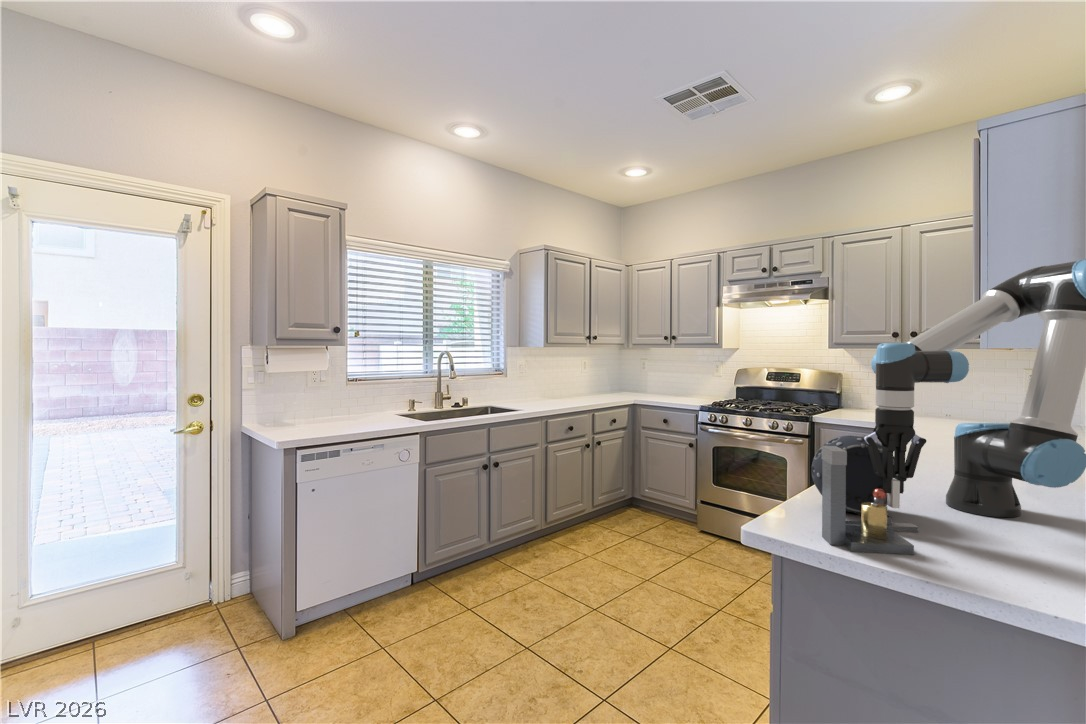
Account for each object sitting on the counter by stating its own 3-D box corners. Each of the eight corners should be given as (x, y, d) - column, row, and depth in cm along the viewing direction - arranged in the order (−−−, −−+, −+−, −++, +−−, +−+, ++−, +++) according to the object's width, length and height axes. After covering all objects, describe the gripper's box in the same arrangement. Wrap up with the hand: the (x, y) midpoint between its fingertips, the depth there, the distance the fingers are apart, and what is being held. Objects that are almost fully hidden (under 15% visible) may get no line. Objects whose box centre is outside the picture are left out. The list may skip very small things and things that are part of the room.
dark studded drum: (907, 520, 126) (907, 440, 125) (820, 515, 130) (820, 438, 129) (886, 506, 136) (887, 433, 136) (807, 503, 140) (807, 432, 140)
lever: (885, 520, 121) (885, 487, 121) (891, 525, 118) (892, 490, 118) (867, 519, 122) (867, 486, 122) (873, 524, 119) (873, 489, 119)
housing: (880, 531, 113) (880, 500, 113) (891, 539, 108) (891, 507, 108) (857, 530, 114) (857, 499, 114) (867, 538, 109) (867, 506, 109)
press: (912, 528, 120) (913, 441, 119) (956, 557, 104) (958, 456, 103) (808, 523, 124) (809, 439, 123) (835, 550, 108) (836, 453, 107)
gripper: (916, 406, 121) (914, 502, 122) (857, 405, 124) (856, 500, 124) (934, 410, 114) (933, 512, 115) (871, 409, 116) (870, 510, 117)
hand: (893, 506), depth 119 cm, fingers closed
